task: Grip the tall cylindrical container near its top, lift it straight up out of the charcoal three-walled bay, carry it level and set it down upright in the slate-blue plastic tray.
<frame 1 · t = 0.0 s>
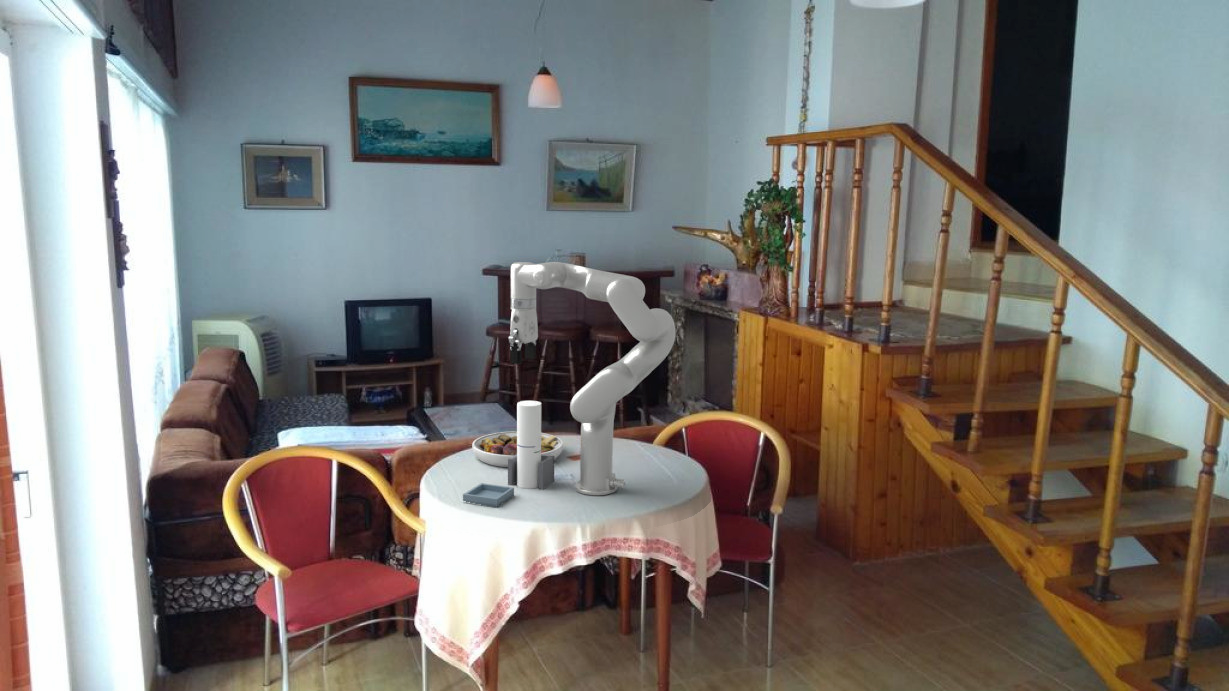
hand: (523, 361, 250), 37 cm above the table, tool pointing down, fingers open, 9 cm apart
tray: (488, 499, 238), on the table
bowl: (517, 457, 280), on the table
bay: (529, 484, 251), on the table
cylindrical container: (529, 485, 251), on the table
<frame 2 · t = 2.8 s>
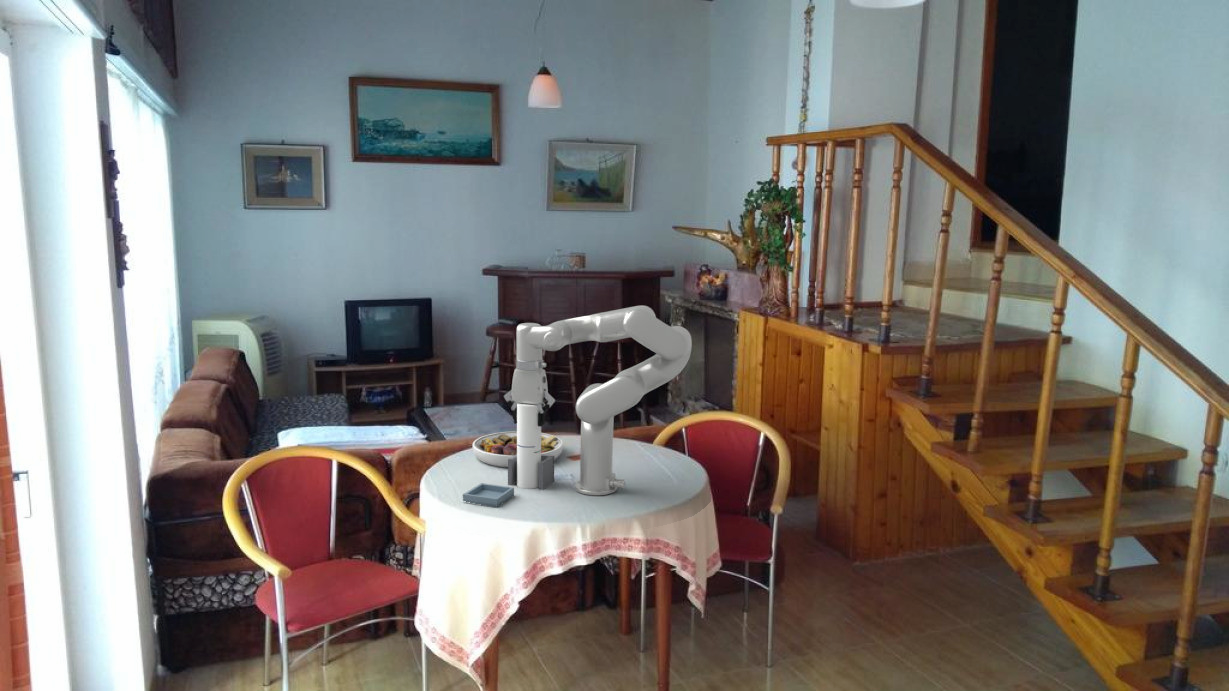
hand: (529, 423, 248), 19 cm above the table, tool pointing down, fingers closed on cylindrical container, 7 cm apart
cylindrical container: (529, 485, 251), on the table, touching gripper
everything else where it was.
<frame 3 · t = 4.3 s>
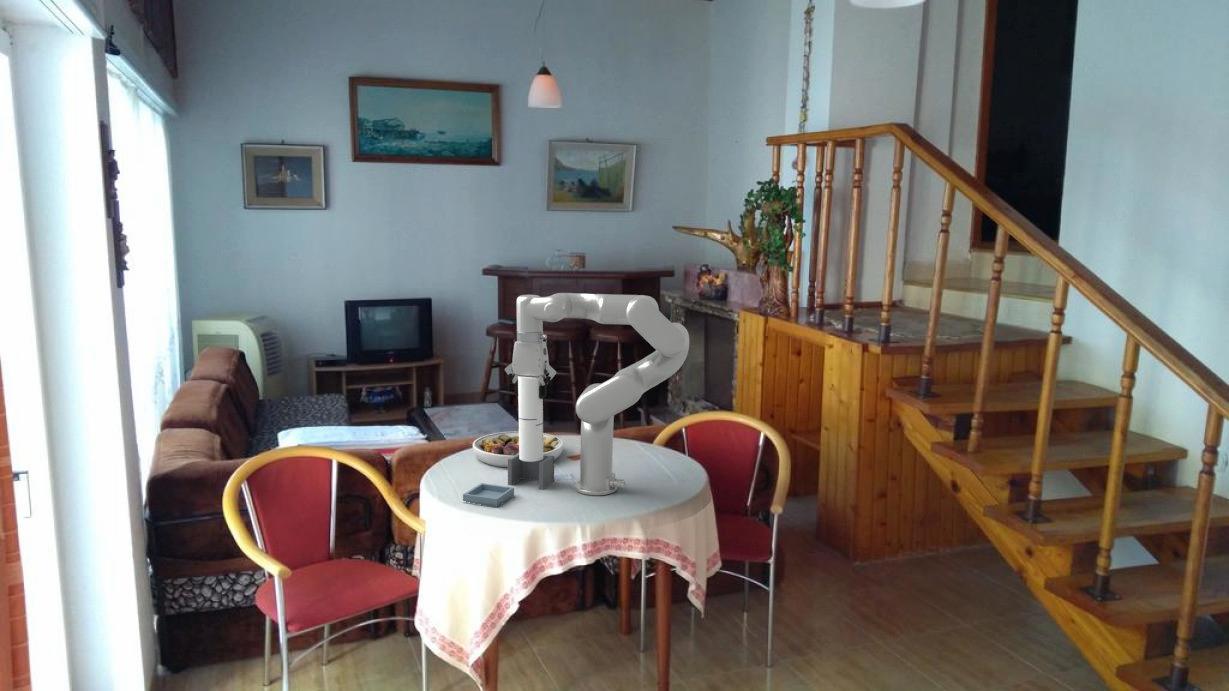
hand: (530, 396, 247), 27 cm above the table, tool pointing down, fingers closed on cylindrical container, 7 cm apart
cylindrical container: (531, 458, 250), point 8 cm above the table, touching gripper
everything else where it was.
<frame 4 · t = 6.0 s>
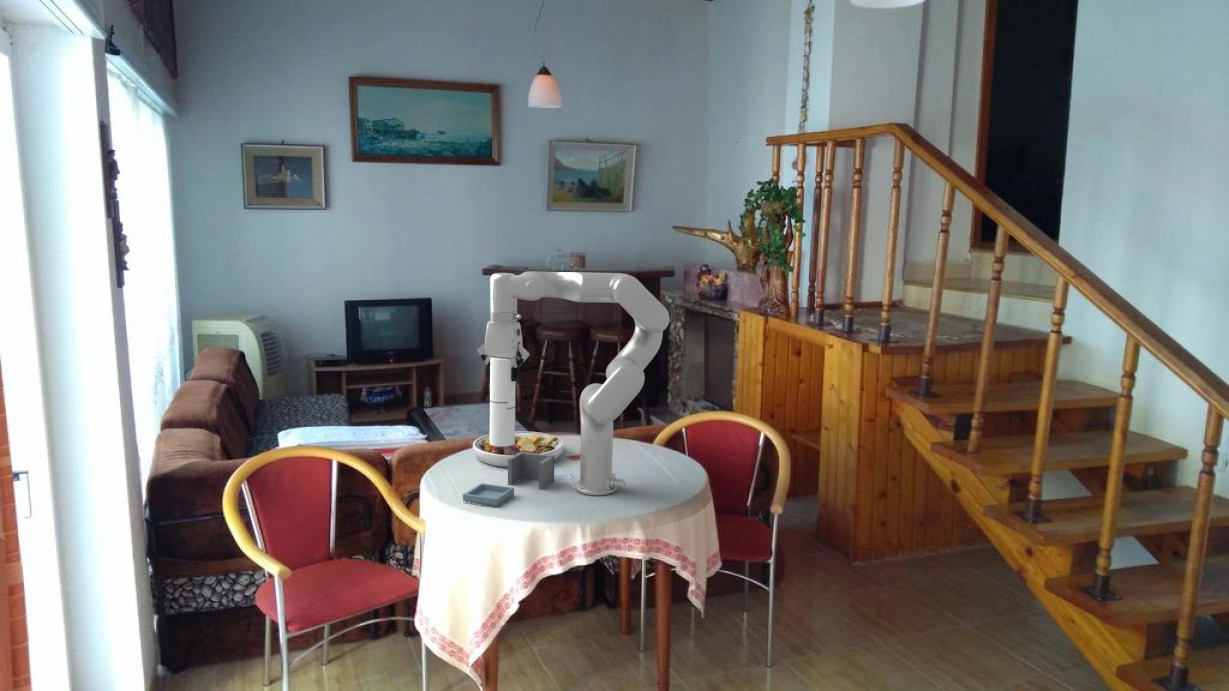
hand: (502, 378, 237), 34 cm above the table, tool pointing down, fingers closed on cylindrical container, 7 cm apart
cylindrical container: (502, 443, 240), point 15 cm above the table, touching gripper
everything else where it was.
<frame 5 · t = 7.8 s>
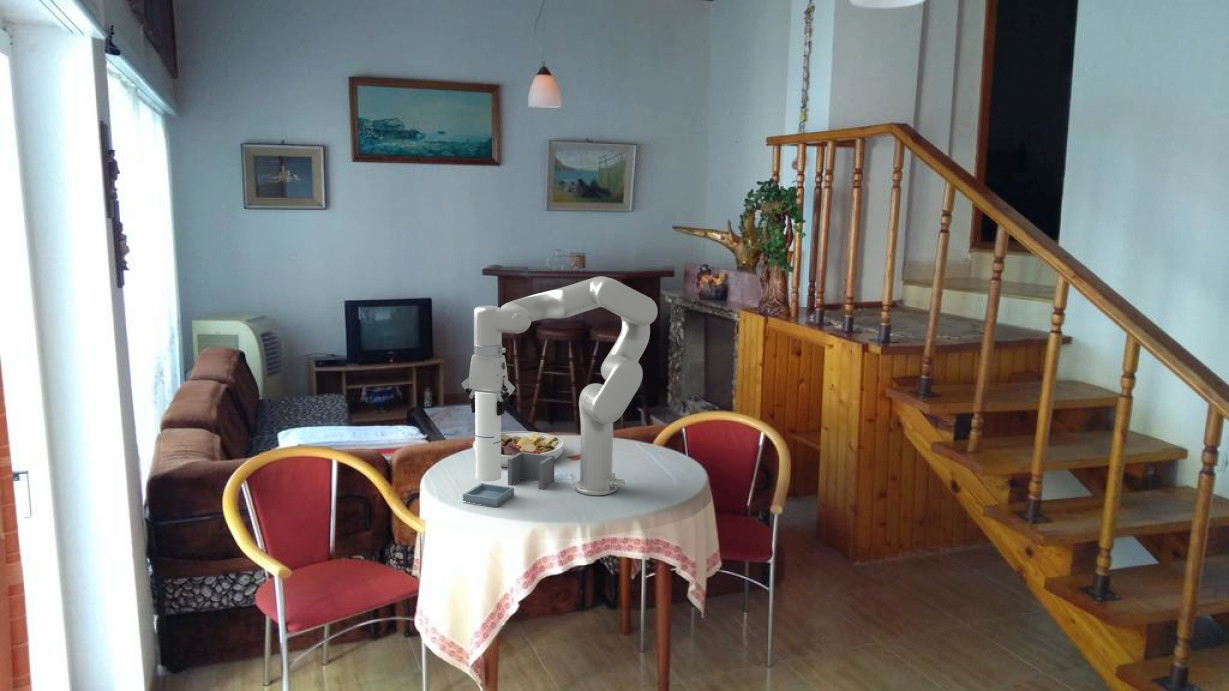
hand: (488, 412, 234), 25 cm above the table, tool pointing down, fingers closed on cylindrical container, 7 cm apart
cylindrical container: (488, 478, 237), point 6 cm above the table, touching gripper
everything else where it was.
when the fingers open (20 cm above the table, at t = 9.4 s): cylindrical container stays where it is, resting on tray.
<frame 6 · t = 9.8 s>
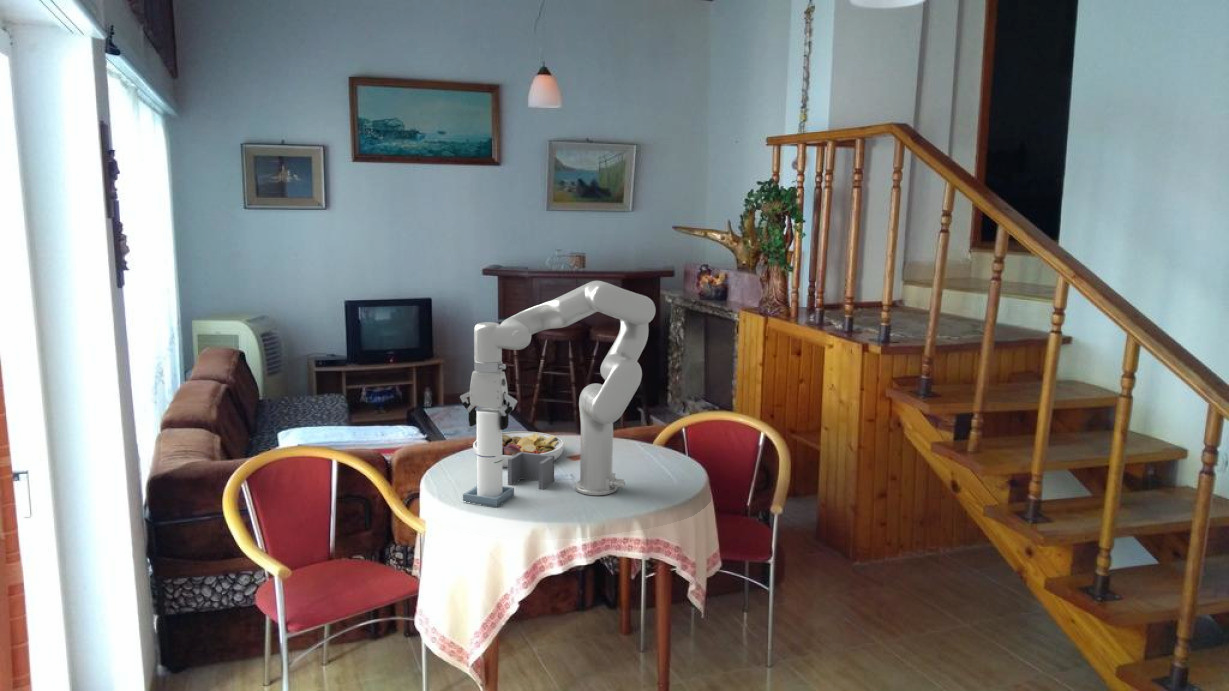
hand: (488, 427, 235), 21 cm above the table, tool pointing down, fingers open, 9 cm apart
cylindrical container: (489, 496, 238), point 1 cm above the table, touching tray
everything else where it was.
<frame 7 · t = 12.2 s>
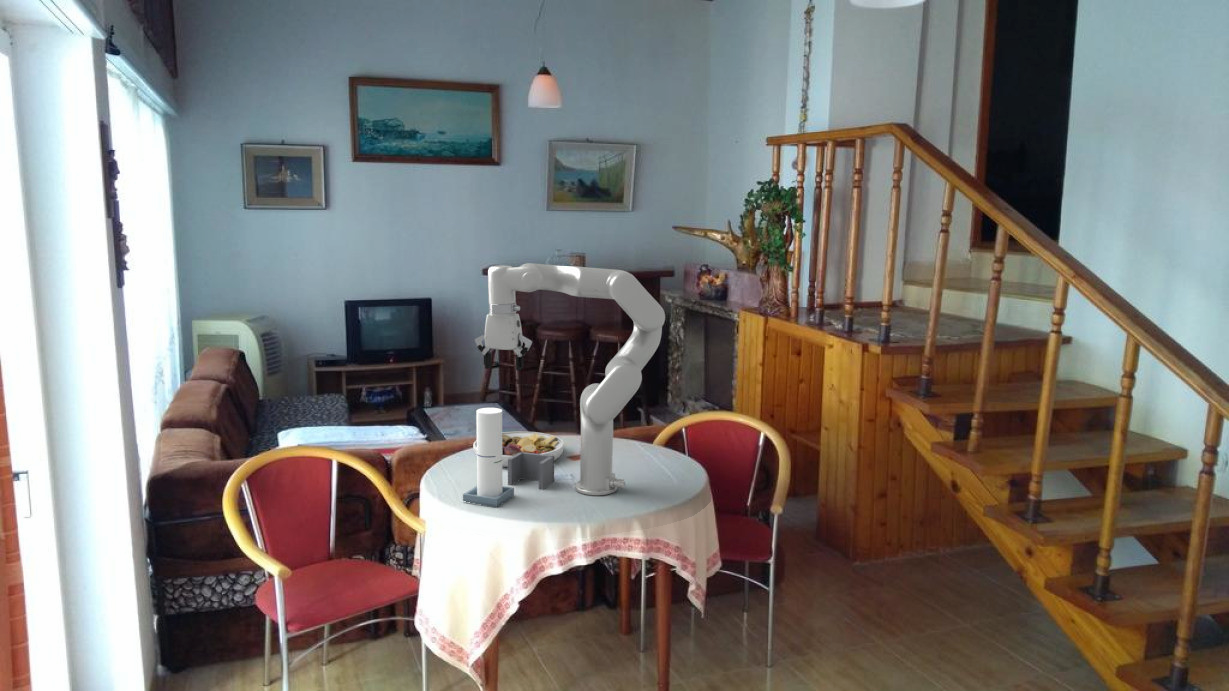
hand: (503, 368, 239), 36 cm above the table, tool pointing down, fingers open, 9 cm apart
nothing on the table moved.
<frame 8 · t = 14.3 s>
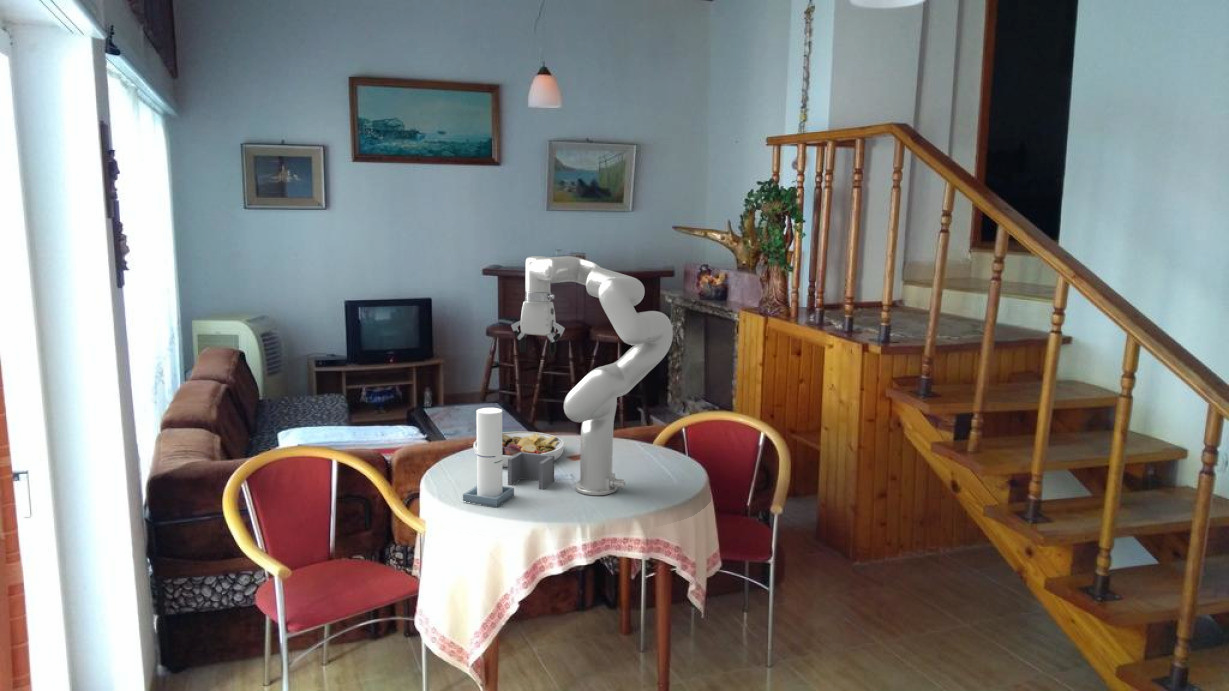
hand: (537, 353, 255), 38 cm above the table, tool pointing down, fingers open, 9 cm apart
nothing on the table moved.
at the end: cylindrical container 0.3 cm off-centre on the tray, point 0.6 cm above the tray's base; cylindrical container tilted 0°; the gripper is holding nothing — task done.
